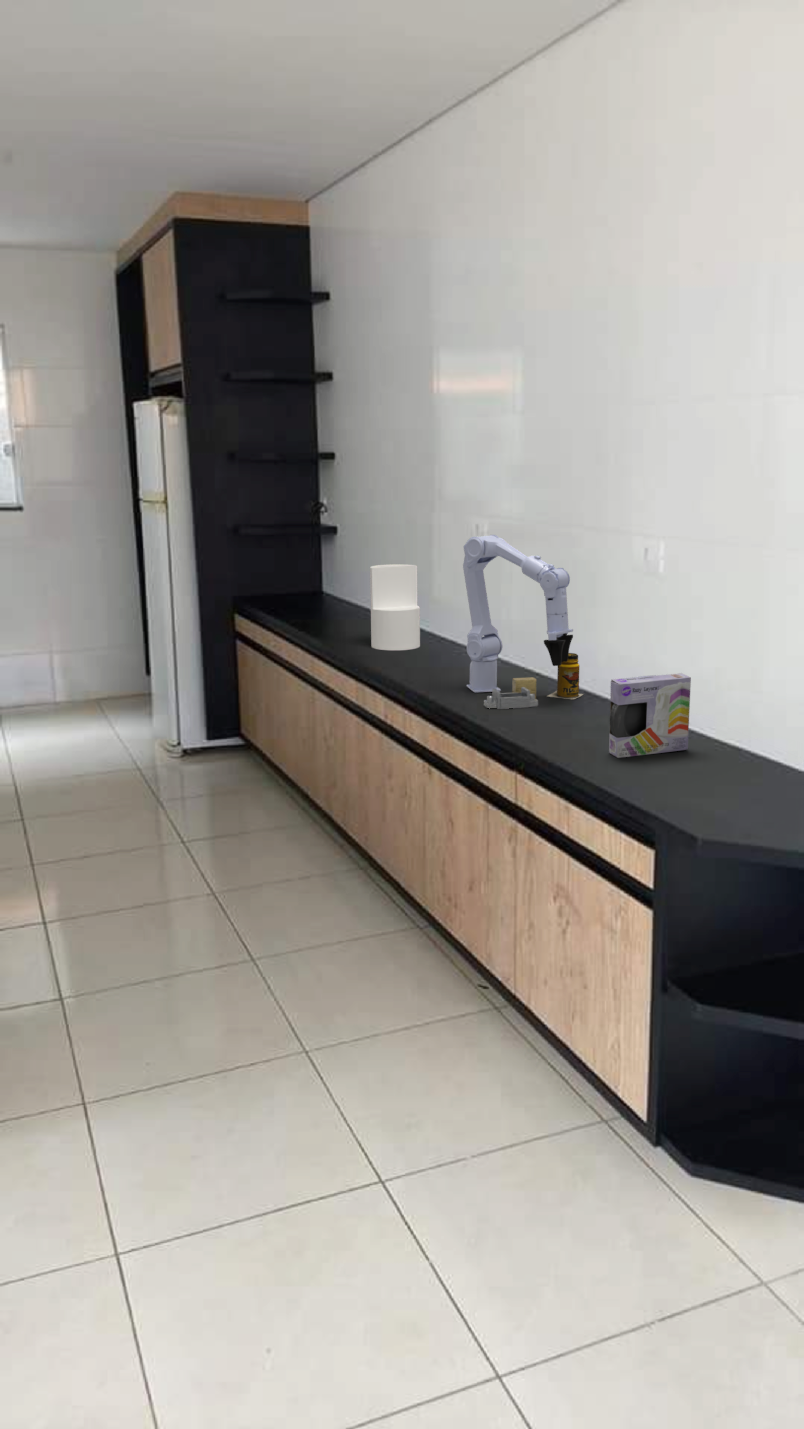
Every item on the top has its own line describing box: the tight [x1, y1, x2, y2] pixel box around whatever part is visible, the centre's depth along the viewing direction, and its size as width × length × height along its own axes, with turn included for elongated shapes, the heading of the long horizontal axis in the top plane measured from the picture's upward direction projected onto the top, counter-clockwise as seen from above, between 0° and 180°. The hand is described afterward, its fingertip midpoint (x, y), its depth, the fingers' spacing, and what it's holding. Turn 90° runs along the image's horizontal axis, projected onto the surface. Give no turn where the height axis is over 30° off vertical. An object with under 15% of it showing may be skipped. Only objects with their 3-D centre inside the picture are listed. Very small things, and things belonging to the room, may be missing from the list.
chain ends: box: [483, 687, 539, 710], centre depth 305 cm, size 6×14×4 cm, turn 101°
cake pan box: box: [608, 672, 692, 759], centre depth 256 cm, size 19×5×18 cm, turn 106°
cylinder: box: [369, 563, 421, 651], centre depth 396 cm, size 17×17×28 cm
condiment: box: [547, 652, 584, 700], centre depth 316 cm, size 7×8×12 cm
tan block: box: [511, 676, 537, 699], centre depth 314 cm, size 3×6×6 cm, turn 101°
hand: (560, 663), depth 307 cm, fingers open, 7 cm apart
